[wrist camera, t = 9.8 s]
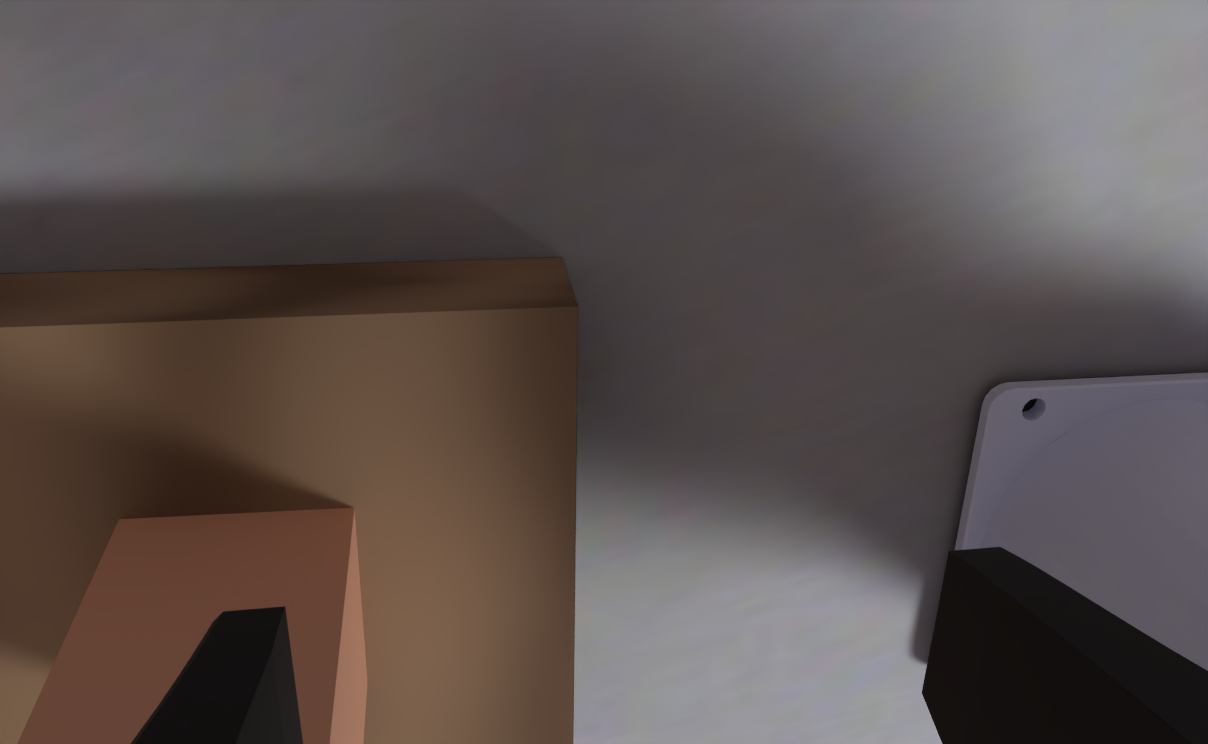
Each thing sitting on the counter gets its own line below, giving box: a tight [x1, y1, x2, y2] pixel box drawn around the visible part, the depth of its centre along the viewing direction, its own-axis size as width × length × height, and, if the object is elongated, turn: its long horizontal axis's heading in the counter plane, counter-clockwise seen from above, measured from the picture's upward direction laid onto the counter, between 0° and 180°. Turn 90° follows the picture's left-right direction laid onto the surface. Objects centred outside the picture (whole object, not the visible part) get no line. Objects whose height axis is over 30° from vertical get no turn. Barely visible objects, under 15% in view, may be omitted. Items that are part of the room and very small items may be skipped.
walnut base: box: [0, 257, 578, 744], centre depth 21 cm, size 12×12×2 cm
